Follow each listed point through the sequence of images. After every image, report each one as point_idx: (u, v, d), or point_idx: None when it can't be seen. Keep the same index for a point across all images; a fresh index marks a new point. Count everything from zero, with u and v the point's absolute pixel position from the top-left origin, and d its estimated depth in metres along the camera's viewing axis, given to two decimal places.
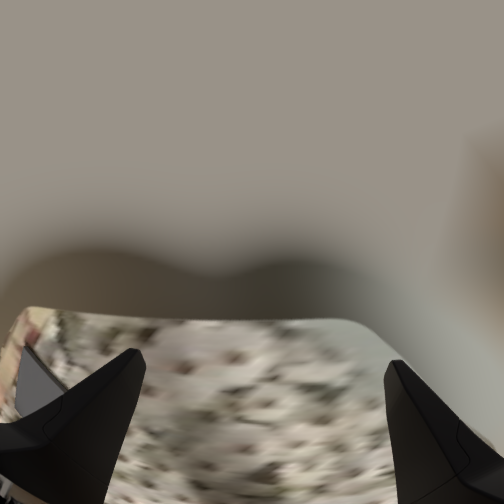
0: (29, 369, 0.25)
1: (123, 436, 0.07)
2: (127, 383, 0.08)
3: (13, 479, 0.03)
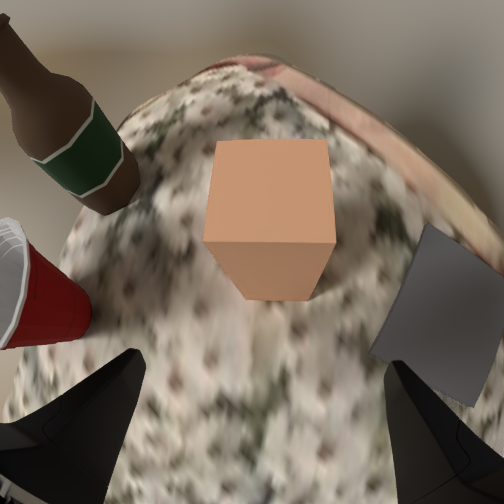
0: (498, 296, 0.19)
1: (123, 436, 0.07)
2: (127, 383, 0.08)
3: (13, 479, 0.03)
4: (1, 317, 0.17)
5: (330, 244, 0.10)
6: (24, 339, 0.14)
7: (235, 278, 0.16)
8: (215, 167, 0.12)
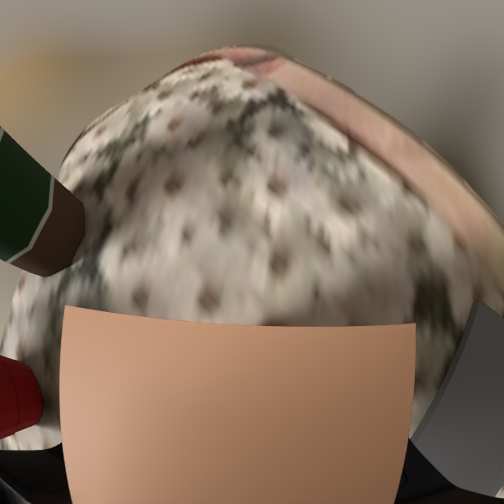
0: None
1: None
2: None
3: None
4: None
5: None
6: None
7: None
8: (64, 401, 0.03)
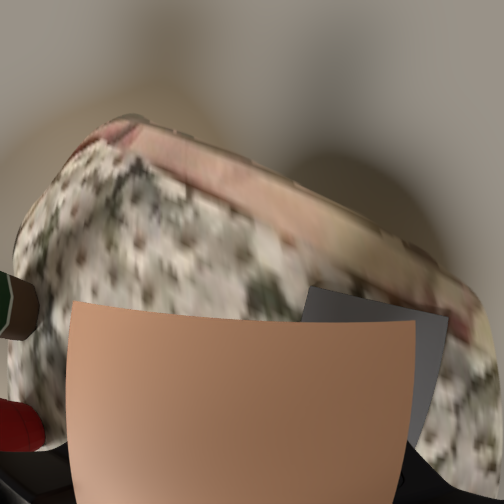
0: (425, 339, 0.19)
1: None
2: None
3: None
4: None
5: None
6: None
7: None
8: (70, 395, 0.03)
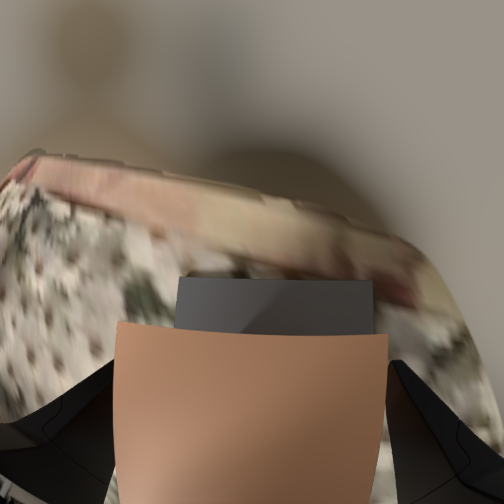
0: (341, 315, 0.17)
1: None
2: None
3: (13, 479, 0.03)
4: None
5: None
6: None
7: None
8: (118, 398, 0.04)
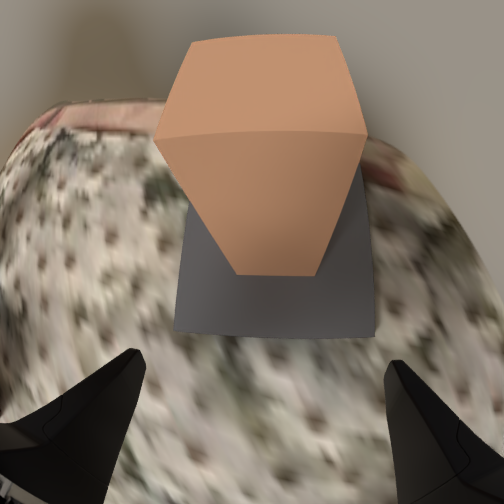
0: None
1: (123, 436, 0.07)
2: (127, 383, 0.08)
3: (13, 479, 0.03)
4: None
5: (358, 138, 0.06)
6: None
7: (216, 231, 0.11)
8: (186, 63, 0.07)
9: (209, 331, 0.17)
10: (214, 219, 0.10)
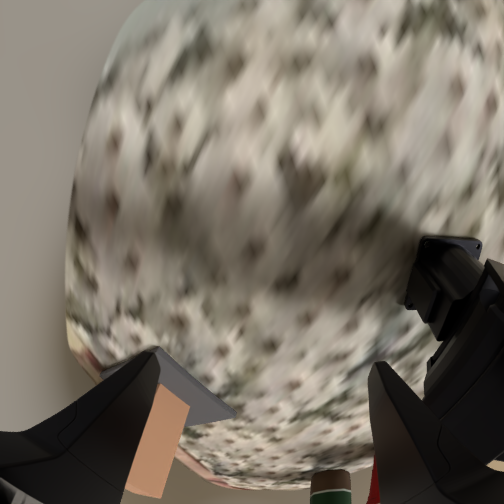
0: None
1: (139, 441, 0.07)
2: (143, 387, 0.08)
3: (28, 491, 0.03)
4: None
5: None
6: None
7: (172, 454, 0.23)
8: (141, 494, 0.19)
9: (221, 408, 0.29)
10: (168, 462, 0.22)
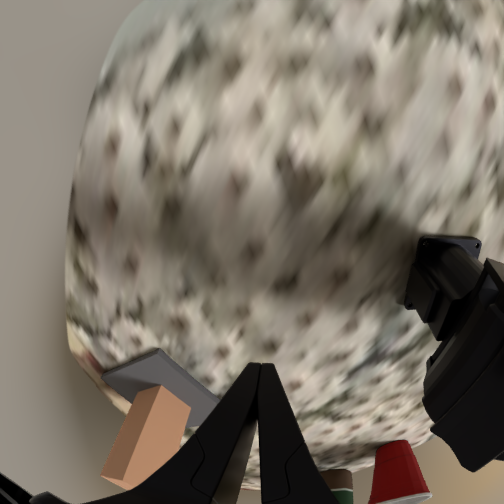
0: (120, 385, 0.30)
1: (247, 461, 0.07)
2: (257, 403, 0.08)
3: None
4: None
5: (124, 480, 0.17)
6: (400, 485, 0.24)
7: None
8: None
9: None
10: None
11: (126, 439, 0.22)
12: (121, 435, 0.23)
